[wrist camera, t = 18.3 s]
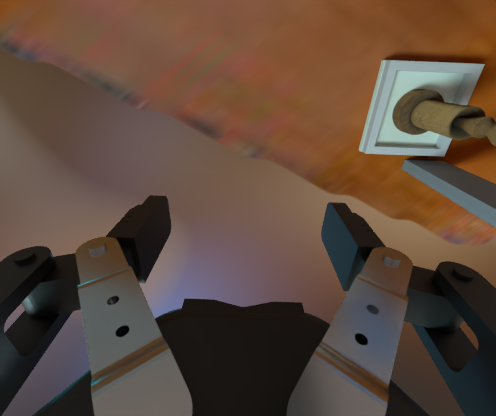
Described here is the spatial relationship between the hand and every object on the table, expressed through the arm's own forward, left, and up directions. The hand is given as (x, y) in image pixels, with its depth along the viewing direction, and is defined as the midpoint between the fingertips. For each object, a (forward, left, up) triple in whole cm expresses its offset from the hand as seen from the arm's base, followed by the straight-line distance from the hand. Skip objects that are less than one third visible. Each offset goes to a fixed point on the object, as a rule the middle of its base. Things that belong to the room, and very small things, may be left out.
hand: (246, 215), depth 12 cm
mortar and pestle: (-13, +23, -31) cm, 41 cm away
